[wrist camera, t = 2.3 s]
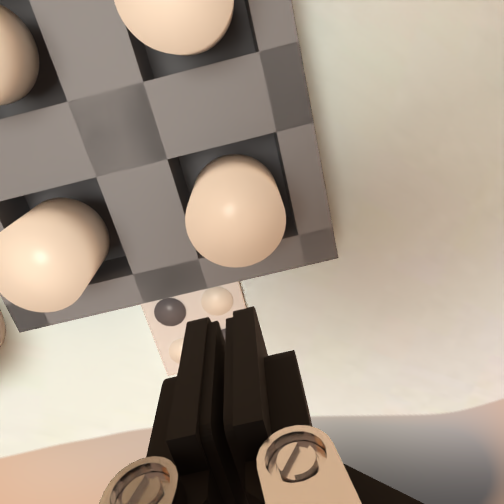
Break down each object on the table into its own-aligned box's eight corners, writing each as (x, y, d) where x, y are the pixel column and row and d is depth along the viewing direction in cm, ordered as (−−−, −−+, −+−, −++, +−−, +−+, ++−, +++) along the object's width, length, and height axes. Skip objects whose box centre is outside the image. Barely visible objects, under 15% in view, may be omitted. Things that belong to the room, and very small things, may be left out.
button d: (91, 188, 25) (64, 212, 21) (121, 265, 27) (101, 300, 23) (10, 208, 26) (-32, 236, 22) (44, 283, 27) (12, 321, 23)
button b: (267, 144, 25) (274, 160, 21) (285, 225, 27) (295, 255, 23) (182, 165, 25) (172, 185, 21) (206, 244, 27) (201, 277, 23)
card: (235, 269, 32) (235, 273, 31) (258, 352, 34) (259, 356, 34) (138, 292, 32) (136, 296, 31) (168, 372, 35) (167, 377, 34)
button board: (257, -125, 23) (262, -160, 20) (325, 234, 31) (338, 258, 27) (-109, -21, 24) (-170, -36, 21) (44, 301, 32) (19, 332, 28)
